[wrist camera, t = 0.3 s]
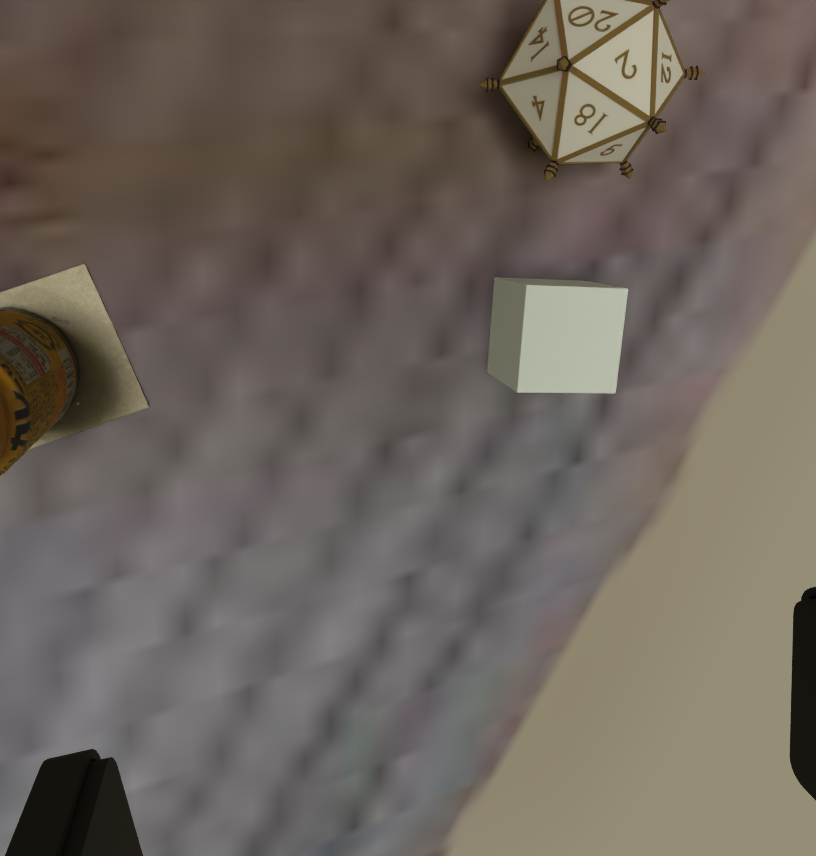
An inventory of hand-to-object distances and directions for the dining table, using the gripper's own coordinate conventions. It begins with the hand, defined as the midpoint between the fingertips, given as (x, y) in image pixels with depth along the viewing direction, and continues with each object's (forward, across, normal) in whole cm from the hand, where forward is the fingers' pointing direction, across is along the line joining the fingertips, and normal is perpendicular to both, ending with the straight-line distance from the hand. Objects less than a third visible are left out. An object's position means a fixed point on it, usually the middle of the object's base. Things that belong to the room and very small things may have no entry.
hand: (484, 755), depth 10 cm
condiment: (+30, +13, -2) cm, 33 cm away
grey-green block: (+30, -12, 0) cm, 32 cm away
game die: (+30, -14, -11) cm, 35 cm away
